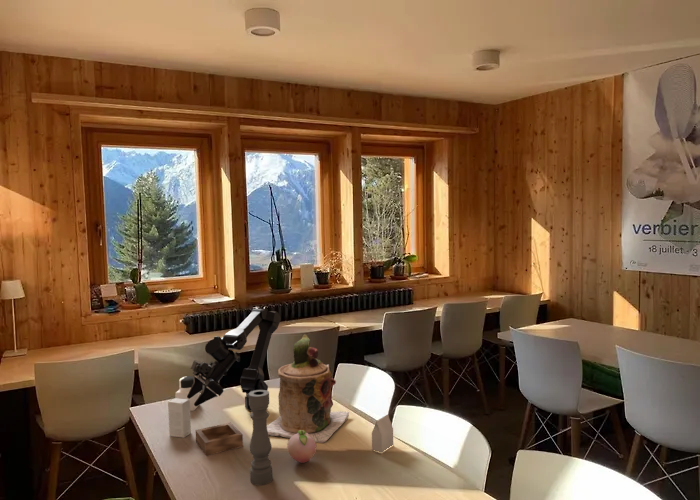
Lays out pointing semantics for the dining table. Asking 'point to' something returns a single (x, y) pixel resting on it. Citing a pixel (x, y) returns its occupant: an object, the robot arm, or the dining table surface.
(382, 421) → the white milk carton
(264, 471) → the candle holder
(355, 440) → the dining table surface
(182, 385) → the medicine bottle
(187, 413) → the skincare box
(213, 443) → the walnut holder
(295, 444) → the decorative fruit
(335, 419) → the cookie jar
